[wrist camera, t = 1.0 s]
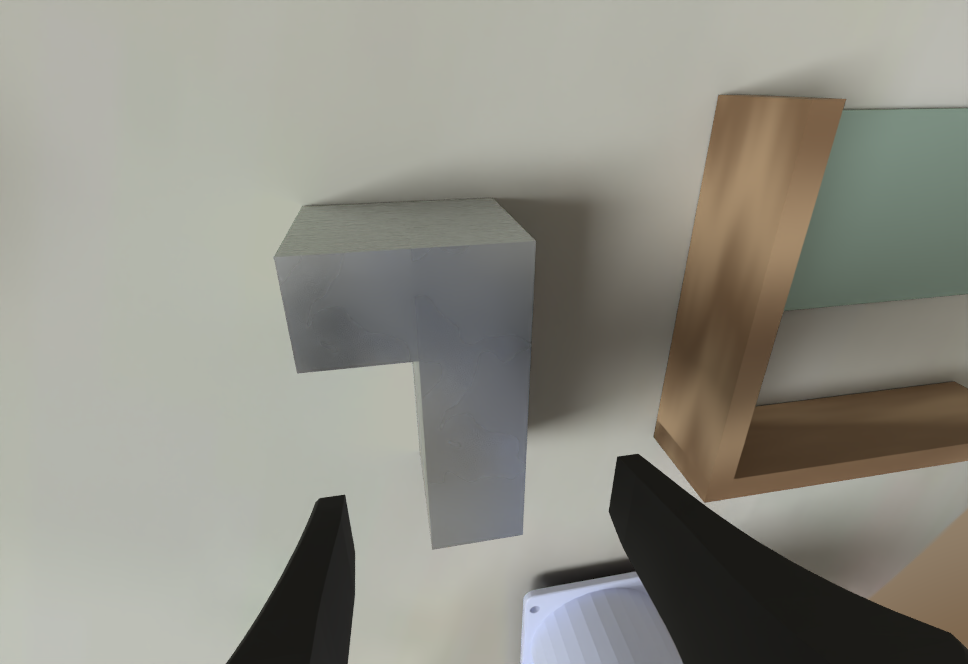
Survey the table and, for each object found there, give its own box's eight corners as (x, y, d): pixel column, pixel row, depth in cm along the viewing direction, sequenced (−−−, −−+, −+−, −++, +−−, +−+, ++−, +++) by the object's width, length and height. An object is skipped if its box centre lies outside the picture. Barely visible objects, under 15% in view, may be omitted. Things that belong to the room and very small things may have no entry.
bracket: (491, 439, 21) (522, 534, 17) (344, 458, 20) (336, 565, 16) (492, 197, 16) (535, 241, 12) (302, 206, 15) (273, 257, 11)
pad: (973, 290, 22) (981, 292, 22) (710, 314, 20) (714, 317, 20) (1061, 106, 19) (1071, 106, 19) (755, 111, 17) (761, 111, 16)
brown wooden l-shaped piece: (945, 398, 25) (1037, 449, 22) (653, 436, 23) (704, 502, 19) (1099, 91, 19) (1263, 94, 15) (718, 95, 16) (812, 99, 13)
